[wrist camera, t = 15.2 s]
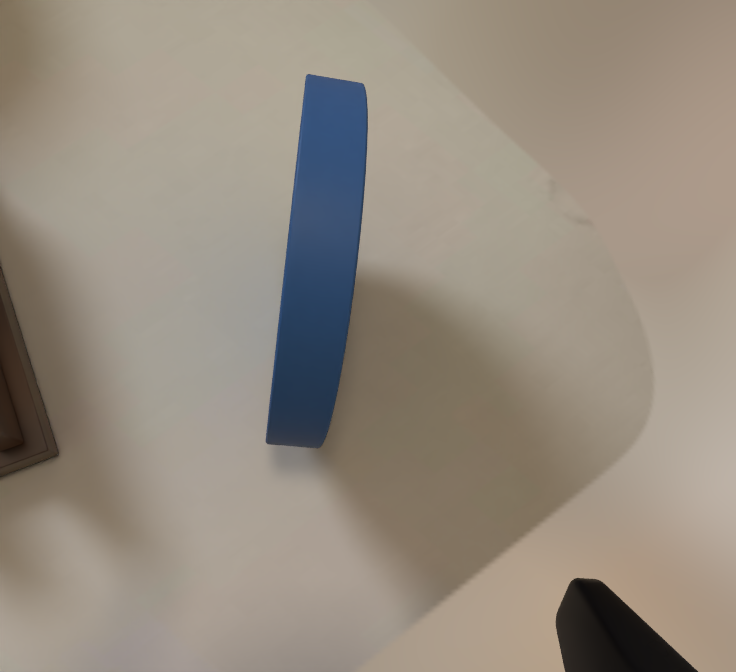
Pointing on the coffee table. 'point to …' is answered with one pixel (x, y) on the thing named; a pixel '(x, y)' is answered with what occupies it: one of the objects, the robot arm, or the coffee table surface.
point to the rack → (19, 399)
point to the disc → (319, 261)
